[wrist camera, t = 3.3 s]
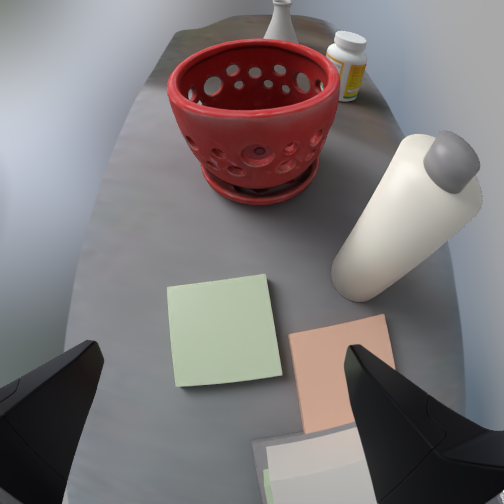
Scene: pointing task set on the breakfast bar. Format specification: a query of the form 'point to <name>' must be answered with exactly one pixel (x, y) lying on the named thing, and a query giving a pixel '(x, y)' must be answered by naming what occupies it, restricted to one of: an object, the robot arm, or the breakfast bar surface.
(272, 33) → the flask
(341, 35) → the supplement bottle
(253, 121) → the plant pot
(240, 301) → the sage green pad
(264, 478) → the grey unit
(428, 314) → the breakfast bar surface
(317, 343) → the terracotta pad
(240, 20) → the breakfast bar surface
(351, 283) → the cream bottle
